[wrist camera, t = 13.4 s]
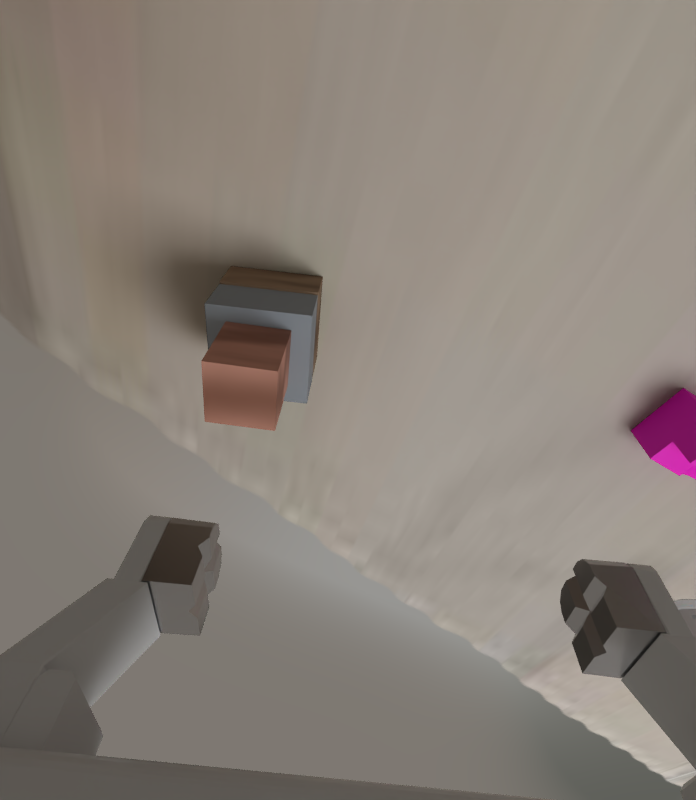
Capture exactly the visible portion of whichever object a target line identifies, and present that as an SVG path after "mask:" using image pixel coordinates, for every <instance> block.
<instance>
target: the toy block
mask: <svg viewBox="0 0 696 800" xmlns="http://www.w3.org/2000/svg"><path fill="white" fill-rule="evenodd" d="M631 432H632V433H633V434H634V436H635V437H636V439H637V440H638V442H639V443H640V444H641V446H642V447H643V449H644V450H645V452H646V453H647V454H648V456H649V457H650V459H652V460H654V461H655V462H657V463H659V464H660V465H662V466H664V467H665V468H667V469H669V470H671V471H672V472H674V473H676V474H677V475H679V476H680V475H681V474H685V475H688V476H690V477H692V478H694V479H696V396H695V395H694V394H692V393H690V392H689V391H687V390H686V389H684V388H683V389H681V390H680V391H679V392H678V393H676V394H675V395H674V396H673V397H672V398H670V399H669V400H668V401H667V402H665V403H664V404H663V405H662V406H660V407H659V408H658V409H657V410H656V411H654V412H653V413H652V414H651V415H649V416H648V417H647V418H646V419H644V420H643V421H642V422H641V423H640V424H638V425H637V426H636V427H635V428H633V429H632V430H631Z"/></svg>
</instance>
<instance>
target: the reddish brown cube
mask: <svg viewBox="0 0 696 800" xmlns="http://www.w3.org/2000/svg"><path fill="white" fill-rule="evenodd" d="M290 345H291V330H285V329H277V328H270V327H263V326H256V325H248V324H241V323H234V322H227V321H225V323H224V325H223V326H222V328H221V330H220V331H219V333H218V335H217V336H216V338H215V340H214V341H213V343H212V345H211V346H210V348H209V350H208V351H207V353H206V355H205V356H204V358H203V359H202V379H203V397H204V415H205V422H212V423H220V424H227V425H235V426H242V427H250V428H258V429H265V430H273V431H275V429H276V425H277V422H278V418H279V415H280V411H281V407H282V404H283V400H284V397H285V393H286V390H287V386H288V375H289V360H290Z"/></svg>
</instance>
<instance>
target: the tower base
mask: <svg viewBox="0 0 696 800" xmlns="http://www.w3.org/2000/svg"><path fill="white" fill-rule="evenodd" d="M322 279H323V277H321V276H312V275H304V274H295V273H286V272H278V271H269V270H261V269H252V268H243V267H235V266H231V267H230V268H229V270H228V271H227V272H226V274H225V275H224V276H223V278H222V279H221V280H220V284H225V285H234V286H243V287H252V288H260V289H269V290H278V291H286V292H295V293H304V294H313V295H318V300H317V315H316V330H315V345H314V360H313V372H314V368H315V363H316V358H317V348H318V334H319V320H320V306H321V292H322ZM312 376H313V374H312Z"/></svg>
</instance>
